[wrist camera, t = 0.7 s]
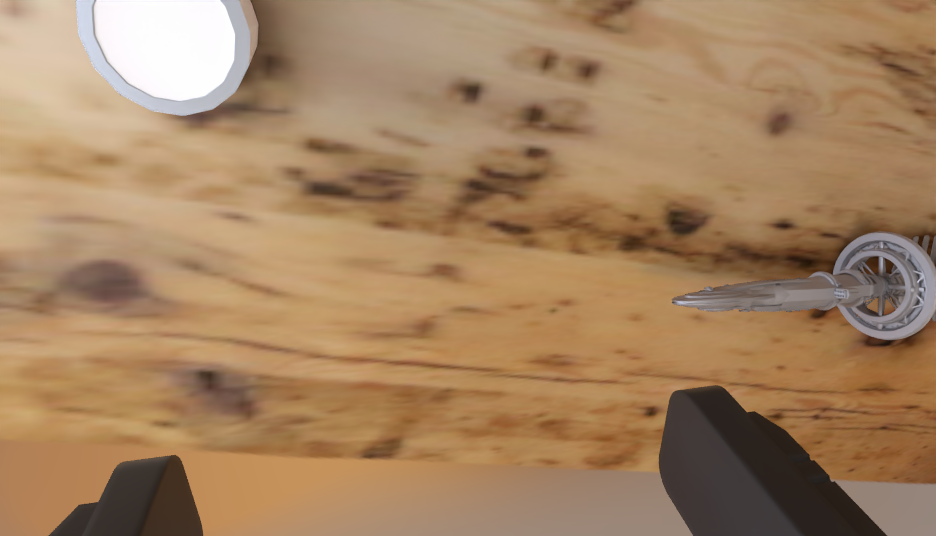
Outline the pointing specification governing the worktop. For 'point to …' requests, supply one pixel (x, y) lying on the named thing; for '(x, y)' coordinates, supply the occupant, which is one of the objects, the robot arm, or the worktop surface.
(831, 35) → the worktop surface
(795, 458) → the robot arm
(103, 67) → the beige white cylinder
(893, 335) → the spaceship
